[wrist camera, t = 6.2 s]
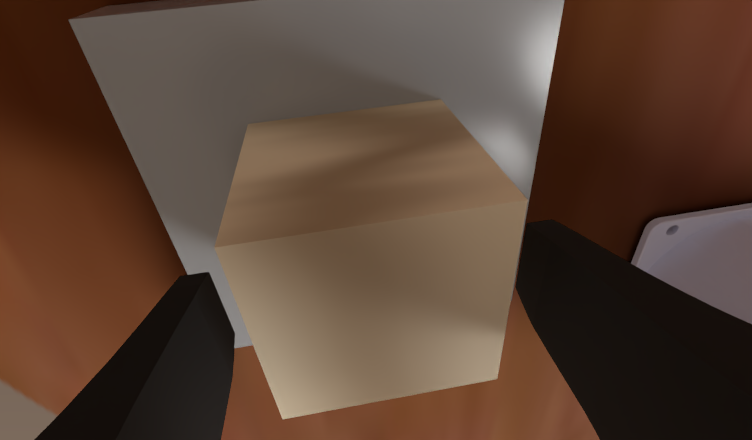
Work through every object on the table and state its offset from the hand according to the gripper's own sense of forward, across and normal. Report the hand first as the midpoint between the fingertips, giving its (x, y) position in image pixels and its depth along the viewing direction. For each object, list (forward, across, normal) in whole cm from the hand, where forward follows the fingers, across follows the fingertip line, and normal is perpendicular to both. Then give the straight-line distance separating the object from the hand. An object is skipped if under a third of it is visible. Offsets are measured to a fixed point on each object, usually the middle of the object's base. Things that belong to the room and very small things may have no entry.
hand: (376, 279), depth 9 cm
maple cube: (+3, 0, 0) cm, 3 cm away
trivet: (+5, 0, 0) cm, 5 cm away
